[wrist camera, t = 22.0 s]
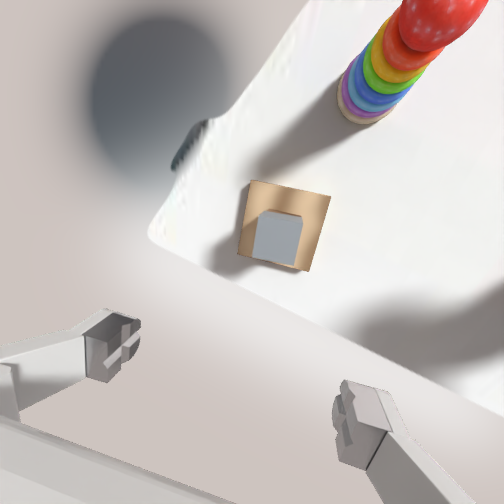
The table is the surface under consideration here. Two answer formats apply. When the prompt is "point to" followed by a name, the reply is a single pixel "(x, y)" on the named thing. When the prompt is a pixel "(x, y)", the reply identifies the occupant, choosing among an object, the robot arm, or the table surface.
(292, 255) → the slate block
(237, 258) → the table surface
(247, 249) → the base board
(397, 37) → the stacking toy
